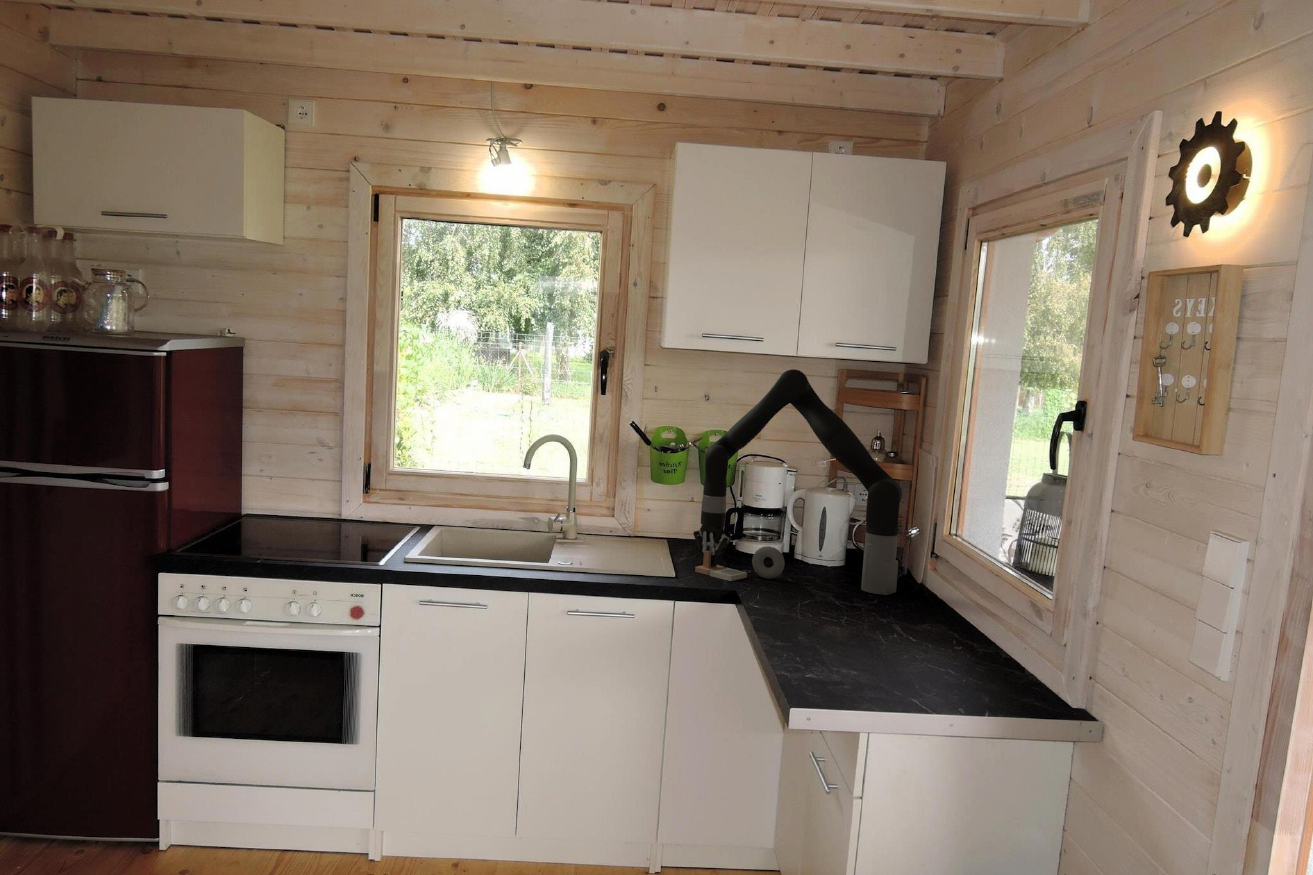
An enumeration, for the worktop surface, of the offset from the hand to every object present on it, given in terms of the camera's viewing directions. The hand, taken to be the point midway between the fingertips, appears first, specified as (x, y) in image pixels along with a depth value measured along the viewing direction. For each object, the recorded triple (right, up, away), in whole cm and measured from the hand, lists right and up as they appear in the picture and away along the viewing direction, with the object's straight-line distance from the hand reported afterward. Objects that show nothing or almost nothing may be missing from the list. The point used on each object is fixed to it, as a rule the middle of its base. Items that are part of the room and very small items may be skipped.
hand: (710, 565), depth 285 cm
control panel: (+5, -3, -5) cm, 7 cm away
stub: (0, -2, 0) cm, 2 cm away
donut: (+17, -4, -4) cm, 18 cm away
